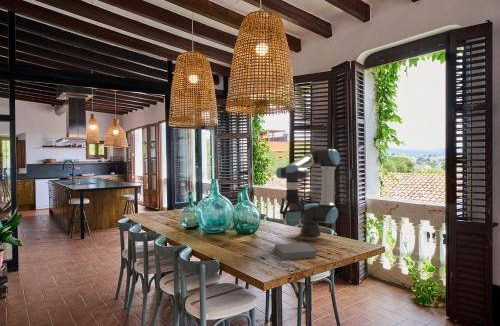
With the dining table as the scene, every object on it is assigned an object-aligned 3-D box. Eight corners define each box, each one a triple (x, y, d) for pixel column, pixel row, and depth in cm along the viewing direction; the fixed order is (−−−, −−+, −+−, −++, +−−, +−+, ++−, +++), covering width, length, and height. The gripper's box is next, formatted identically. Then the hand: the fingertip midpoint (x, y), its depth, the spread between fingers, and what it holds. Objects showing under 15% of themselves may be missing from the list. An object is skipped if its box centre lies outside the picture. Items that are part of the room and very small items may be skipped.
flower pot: (288, 226, 210) (288, 212, 210) (283, 224, 218) (283, 210, 218) (301, 226, 212) (301, 211, 212) (296, 223, 221) (296, 209, 221)
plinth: (304, 248, 218) (304, 242, 218) (316, 257, 198) (316, 250, 198) (274, 250, 215) (274, 244, 215) (283, 260, 195) (282, 253, 195)
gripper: (277, 189, 210) (277, 226, 210) (310, 189, 213) (310, 225, 213) (274, 188, 217) (274, 224, 217) (306, 188, 221) (306, 223, 221)
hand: (292, 224), depth 215 cm, fingers closed on flower pot, 9 cm apart
